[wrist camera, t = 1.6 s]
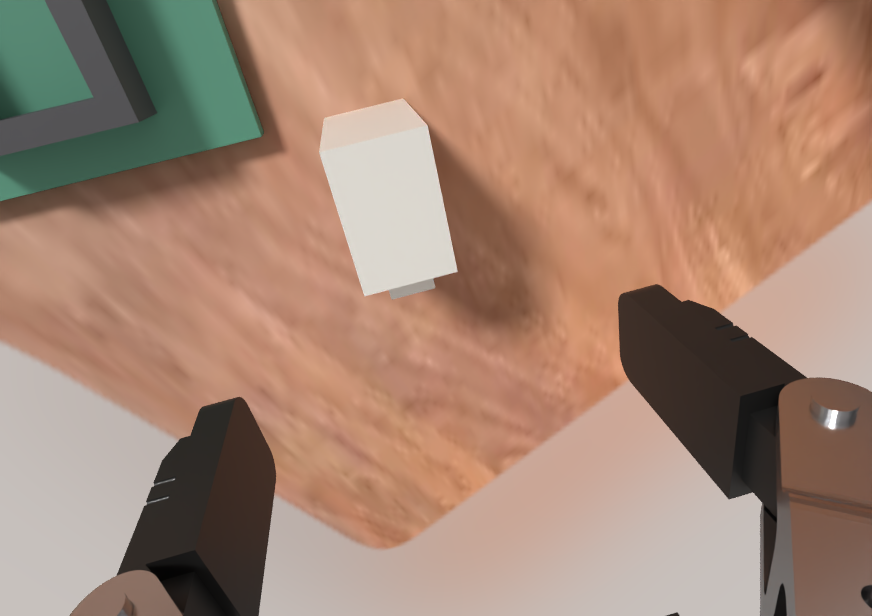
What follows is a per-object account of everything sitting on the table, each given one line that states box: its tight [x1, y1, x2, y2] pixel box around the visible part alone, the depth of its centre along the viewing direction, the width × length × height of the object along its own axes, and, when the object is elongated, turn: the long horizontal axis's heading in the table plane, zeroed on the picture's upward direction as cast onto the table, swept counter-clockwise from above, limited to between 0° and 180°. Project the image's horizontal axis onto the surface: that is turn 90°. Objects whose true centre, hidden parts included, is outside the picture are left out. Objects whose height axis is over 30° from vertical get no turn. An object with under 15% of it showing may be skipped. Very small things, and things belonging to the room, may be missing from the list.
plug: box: [319, 99, 458, 299], centre depth 24 cm, size 4×7×8 cm, turn 12°
